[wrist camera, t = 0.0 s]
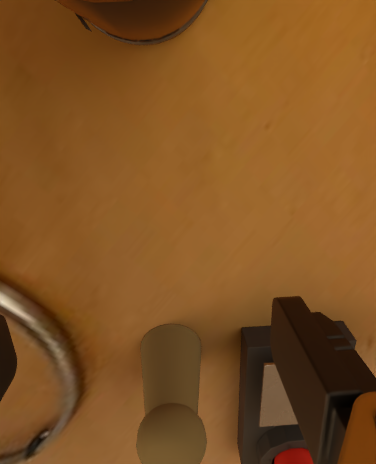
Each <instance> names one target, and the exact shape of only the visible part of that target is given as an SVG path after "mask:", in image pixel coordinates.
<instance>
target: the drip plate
mask: <svg viewBox="0 0 376 464" xmlns="http://www.w3.org/2000/svg"><path fill="white" fill-rule="evenodd" d="M292 424H298V422H297V420H296V417H295V415H294V412H293V409H292V407H291V404H290V402H289V399H288V397H287V394H286V392H285V389H284V386H283V384H282V381H281V379H280V376H279V374H278V371H277V369H276V366H275V363H274V362H273V363H264V366H263V379H262V391H261V404H260V417H259V427H265V426H279V425H292Z"/></svg>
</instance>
